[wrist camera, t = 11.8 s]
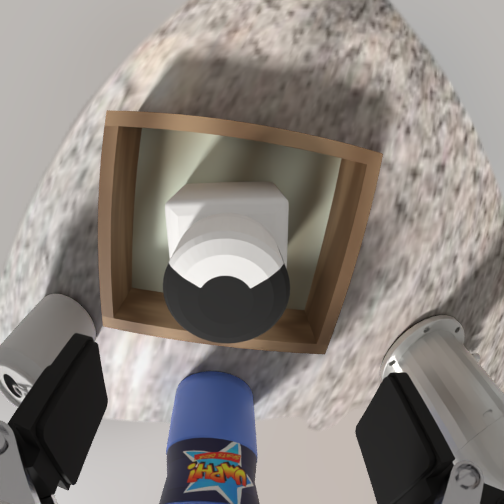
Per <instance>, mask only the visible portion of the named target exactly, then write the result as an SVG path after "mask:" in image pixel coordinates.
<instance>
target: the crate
mask: <svg viewBox="0 0 504 504" xmlns="http://www.w3.org/2000/svg"><path fill="white" fill-rule="evenodd" d="M382 157H383V154H382V153H379V152H375V151H372V150H368V149H365V148H361V147H358V146H354V145H350V144H346V143H342V142H338V141H334V140H330V139H326V138H322V137H318V136H313V135H309V134H304V133H300V132H295V131H290V130H285V129H280V128H274V127H269V126H263V125H258V124H252V123H245V122H239V121H232V120H225V119H217V118H209V117H200V116H191V115H181V114H169V113H155V112H137V111H107V112H106V119H105V127H104V135H103V144H102V154H101V166H100V180H99V201H98V265H99V285H100V300H101V311H102V322H103V326H104V327H109V328H114V329H118V330H123V331H129V332H134V333H139V334H145V335H150V336H156V337H162V338H168V339H174V340H181V341H188V342H195V343H202V344H210V345H218V346H226V347H235V348H244V349H255V350H266V351H278V352H292V353H309V354H325V353H326V350H327V347H328V345H329V342H330V339H331V337H332V334H333V331H334V328H335V326H336V323H337V320H338V317H339V314H340V311H341V308H342V305H343V302H344V299H345V296H346V293H347V290H348V287H349V284H350V281H351V277H352V274H353V271H354V268H355V264H356V261H357V258H358V254H359V251H360V247H361V244H362V240H363V236H364V233H365V229H366V225H367V221H368V217H369V214H370V210H371V206H372V201H373V197H374V193H375V189H376V184H377V180H378V176H379V171H380V166H381V161H382ZM218 182H273V183H274V184H275V185H276V186H277V188H278V189H279V190H280V191H281V192H282V194H283V195H284V196H285V197H286V199H287V200H288V203H289V211H288V245H287V272H288V276H289V280H290V296H289V301H288V304H287V307H286V309H285V311H284V313H283V315H282V316H281V318H280V319H279V320H278V322H277V323H276V324H275V325H274V326H273V327H272V328H270V329H269V330H268V331H266V332H265V333H263V334H262V335H260V336H258V337H256V338H253V339H251V340H248V341H244V342H239V343H229V344H225V343H216V342H211V341H207V340H204V339H201V338H199V337H197V336H195V335H193V334H191V333H190V332H188V331H187V330H185V329H184V328H183V327H182V326H181V325H180V324H179V323H178V322H177V321H176V320H175V319H174V317H173V316H172V315H171V313H170V311H169V309H168V307H167V305H166V302H165V299H164V294H163V277H164V273H165V270H166V267H167V265H168V263H169V261H170V256H169V247H168V237H167V227H166V215H165V204H166V202H167V201H168V200H169V199H170V198H171V197H172V196H173V195H175V194H176V193H177V192H178V191H179V190H180V189H181V188H182V187H183V186H184V185H185V184H193V183H218Z"/></svg>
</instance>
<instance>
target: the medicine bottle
mask: <svg viewBox="0 0 504 504" xmlns="http://www.w3.org/2000/svg"><path fill="white" fill-rule="evenodd" d="M288 211H289V203H288V200H287V199H286V197H285V196H284V195H283V194H282V192H281V191H280V190H279V189H278V188H277V186H276V185H275V184H274V183H273V182H218V183H193V184H185V185H184V186H183V187H182V188H181V189H180V190H179V191H178V192H177V193H176V194H175V195H173V196H172V197H171V198H170V199H169V200H168V201H167V202H166V204H165V215H166V227H167V237H168V247H169V256H170V261H169V263H168V265H167V267H166V270H165V273H164V277H163V294H164V299H165V302H166V305H167V307H168V309H169V311H170V313H171V315H172V316H173V317H174V319H175V320H176V321H177V322H178V323H179V324H180V325H181V326H182V327H183V328H184V329H185V330H187V331H188V332H190V333H191V334H193V335H195V336H197V337H199V338H201V339H204V340H207V341H211V342H216V343H225V344H229V343H239V342H244V341H248V340H251V339H253V338H256V337H258V336H260V335H262V334H263V333H265V332H266V331H268V330H269V329H270V328H272V327H273V326H274V325H275V324H276V323H277V322H278V320H279V319H280V318H281V316H282V315H283V313H284V311H285V309H286V307H287V304H288V301H289V296H290V280H289V276H288V272H287V245H288Z"/></svg>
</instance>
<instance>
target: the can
mask: <svg viewBox="0 0 504 504" xmlns="http://www.w3.org/2000/svg"><path fill="white" fill-rule="evenodd" d="M74 333H80V334H83V335H87V336H91V337H92V338H93V340H94V342H95V340H96V330H95V327H94V323H93V321H92V319H91V318H90V316H89V314H88V313H87V311H86V310H85V309H84V308H83V307H82V306H81V305H80V304H79V303H78V302H76V301H75V300H73V299H72V298H70V297H68V296H65V295H62V294H50V295H48V296H45V297H44V298H43V299H42V300H41V301H40V302H39V303H38V304H37V305H36V306H35V307H34V309H33V310H32V311H31V312H30V313H29V314H28V315H27V316H26V317H25V318H24V319H23V320H22V322H21V323H20V324H19V325H18V326H17V327H16V328H15V329H14V330H13V332H12V333H11V334H10V335H9V336H8V337H7V338H6V340H5V341H4V342H3V343H2V344H1V345H0V392H1V393H2V394H3V396H4V397H5V398H6V399H7V400H8V401H9V402H10V403H12V405H14V406H15V407H16V408H18V407H19V405H20V404H21V402H22V401H23V399H24V398H25V396H26V395H27V393H28V392H29V391H30V389H31V388H32V386H33V385H34V383H35V382H36V380H37V379H38V378H39V376H40V375H41V373H42V372H43V370H44V369H45V368H46V367H47V366H49V365H51V364H52V363H53V361H54V360H55V358H56V357H57V356H58V354H59V353H60V352H61V350H62V349H63V347H64V346H65V345H66V343H67V342H68V341H69V339H70V338H71V337H72V336H73V334H74Z"/></svg>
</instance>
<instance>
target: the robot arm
mask: <svg viewBox="0 0 504 504" xmlns="http://www.w3.org/2000/svg"><path fill="white" fill-rule="evenodd" d="M464 340H465V334H464V329H463V327H462V325H461V324H460V323H459V322H458V321H457V320H456V319H455V318H453V317H451V316H448V315H438V316H433V317H430V318H428V319H425V320H423V321H421V322H419V323H417V324H416V325H414V326H413V327H411V328H410V329H409V330H407V331H406V332H405V333H404V334H403V335H402V336H400V337H399V339H398V340H397V341H396V342H395V343H394V344H393V345H392V347H391V348H390V350H389V351H388V352H387V354H386V356H385V358H384V360H383V362H382V365H381V369H380V380H381V384H380V386H379V388H378V390H377V392H376V394H375V395H374V397H373V399H372V401H371V402H370V404H369V406H368V408H367V409H366V411H365V413H364V415H363V416H362V418H361V419H360V421H359V423H358V424H357V426H356V437H357V440H358V443H359V446H360V449H361V452H362V455H363V458H364V462H365V465H366V468H367V471H368V474H369V478H370V481H371V484H372V487H373V491H374V494H375V497H376V501H377V504H504V394H503V392H502V391H501V390H500V388H499V387H498V386H497V385H496V383H495V382H494V381H493V380H492V379H491V377H490V376H489V375H488V374H487V373H486V371H485V370H484V369H483V368H482V367H481V365H480V364H479V363H478V362H479V359H480V356H479V354H478V353H473V354H471V353H470V352H469V351H468V350H467V349H466V348H465V346H464ZM107 403H108V399H107V394H106V389H105V383H104V378H103V372H102V367H101V360H100V354H99V347H98V344H97V343H96V342H94V340H93V338H92V337H91V336H87V335H83V334H80V333H74V334H73V336H72V337H71V338H70V339H69V341H68V342H67V343H66V345H65V346H64V347H63V349H62V350H61V352H60V353H59V354H58V356H57V357H56V358H55V360H54V361H53V363H52V364H51V365H49V366H47V367H46V368H45V369H44V370H43V372H42V373H41V375H40V376H39V378H38V379H37V380H36V382H35V383H34V385H33V386H32V388H31V389H30V391H29V392H28V393H27V395H26V396H25V398H24V399H23V401H22V402H21V404H20V405H19V407H18V408H17V410H16V412H15V413H14V415H13V416H12V418H11V419H10V421H9V423H8V424H6V423H5V422H3V421H0V504H58V503H57V501H56V499H55V496H54V494H55V491H56V488H57V486H59V487H61V488H64V489H66V490H69V488H70V485H71V484H72V485H74V484H76V482H77V479H78V477H79V475H80V472H81V469H82V466H83V464H84V461H85V459H86V456H87V454H88V451H89V449H90V446H91V444H92V441H93V439H94V436H95V434H96V432H97V429H98V427H99V424H100V422H101V420H102V417H103V415H104V413H105V410H106V408H107Z"/></svg>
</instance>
